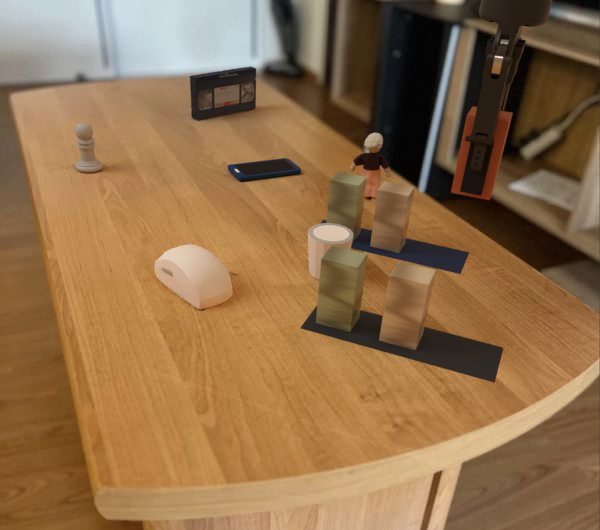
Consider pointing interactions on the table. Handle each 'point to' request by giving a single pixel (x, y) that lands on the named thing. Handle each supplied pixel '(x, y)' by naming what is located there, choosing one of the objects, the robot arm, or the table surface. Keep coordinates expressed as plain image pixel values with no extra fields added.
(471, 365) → the mat
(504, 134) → the orange rectangular block
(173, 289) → the computer mouse
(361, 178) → the far blocks
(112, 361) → the table surface
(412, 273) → the near blocks
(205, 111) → the vhs cassette tape
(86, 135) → the chess piece
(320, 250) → the pale pink cylinder
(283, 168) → the cell phone
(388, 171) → the grandmother figurine
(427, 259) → the word mat far
